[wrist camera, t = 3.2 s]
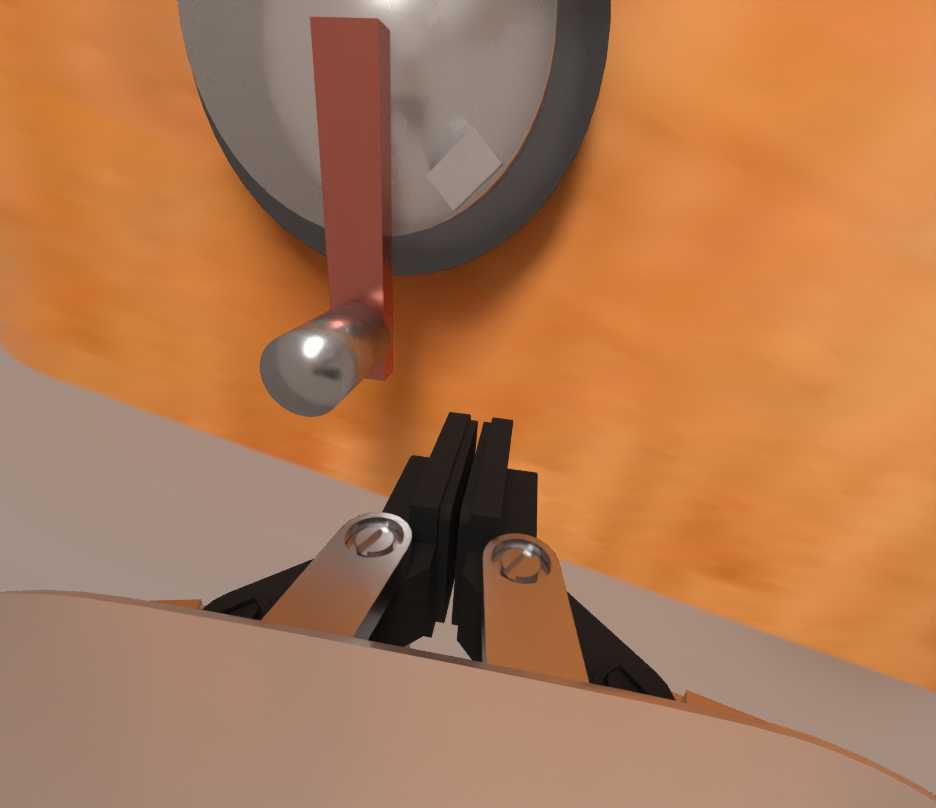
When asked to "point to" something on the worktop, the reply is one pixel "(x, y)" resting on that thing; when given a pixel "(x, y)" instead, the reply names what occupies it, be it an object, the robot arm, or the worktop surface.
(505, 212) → the gray plate
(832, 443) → the worktop surface
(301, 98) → the crank handle wheel
